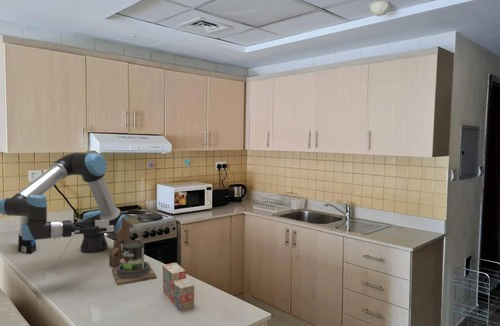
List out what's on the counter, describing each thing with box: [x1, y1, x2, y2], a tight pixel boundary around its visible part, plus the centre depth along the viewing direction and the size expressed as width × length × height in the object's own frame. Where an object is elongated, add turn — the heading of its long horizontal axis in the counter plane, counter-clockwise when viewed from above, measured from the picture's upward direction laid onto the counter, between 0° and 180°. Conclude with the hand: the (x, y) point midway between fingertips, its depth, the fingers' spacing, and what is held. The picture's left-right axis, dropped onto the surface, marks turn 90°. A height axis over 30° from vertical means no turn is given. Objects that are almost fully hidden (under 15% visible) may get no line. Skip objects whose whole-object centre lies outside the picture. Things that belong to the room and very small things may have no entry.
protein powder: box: [17, 216, 38, 255], centre depth 221 cm, size 10×24×30 cm, turn 39°
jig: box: [111, 261, 157, 286], centre depth 182 cm, size 20×18×4 cm
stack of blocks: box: [162, 262, 195, 311], centre depth 155 cm, size 21×6×12 cm, turn 31°
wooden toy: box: [108, 217, 142, 269], centre depth 197 cm, size 15×7×25 cm, turn 130°
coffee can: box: [121, 241, 145, 271], centre depth 181 cm, size 10×10×14 cm
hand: (111, 225), depth 177 cm, fingers open, 13 cm apart
